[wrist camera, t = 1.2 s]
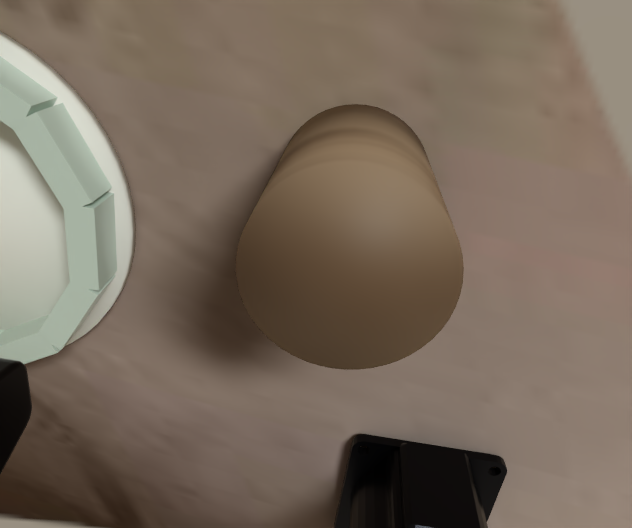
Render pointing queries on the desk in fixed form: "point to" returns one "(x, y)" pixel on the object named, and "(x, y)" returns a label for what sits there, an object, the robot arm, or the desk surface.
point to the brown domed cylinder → (351, 244)
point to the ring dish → (56, 211)
